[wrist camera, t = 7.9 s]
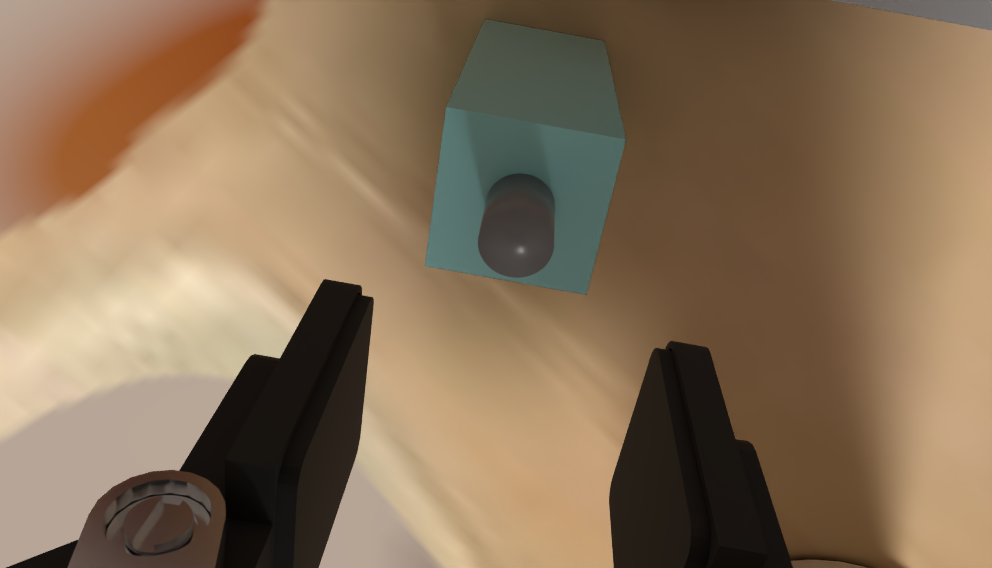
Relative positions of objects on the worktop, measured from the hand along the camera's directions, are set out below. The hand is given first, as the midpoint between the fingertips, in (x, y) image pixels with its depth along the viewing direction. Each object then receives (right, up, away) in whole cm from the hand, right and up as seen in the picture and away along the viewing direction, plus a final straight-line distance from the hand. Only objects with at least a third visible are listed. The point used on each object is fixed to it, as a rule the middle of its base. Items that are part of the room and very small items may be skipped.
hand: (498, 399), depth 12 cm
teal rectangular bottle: (+1, +8, +15) cm, 17 cm away
